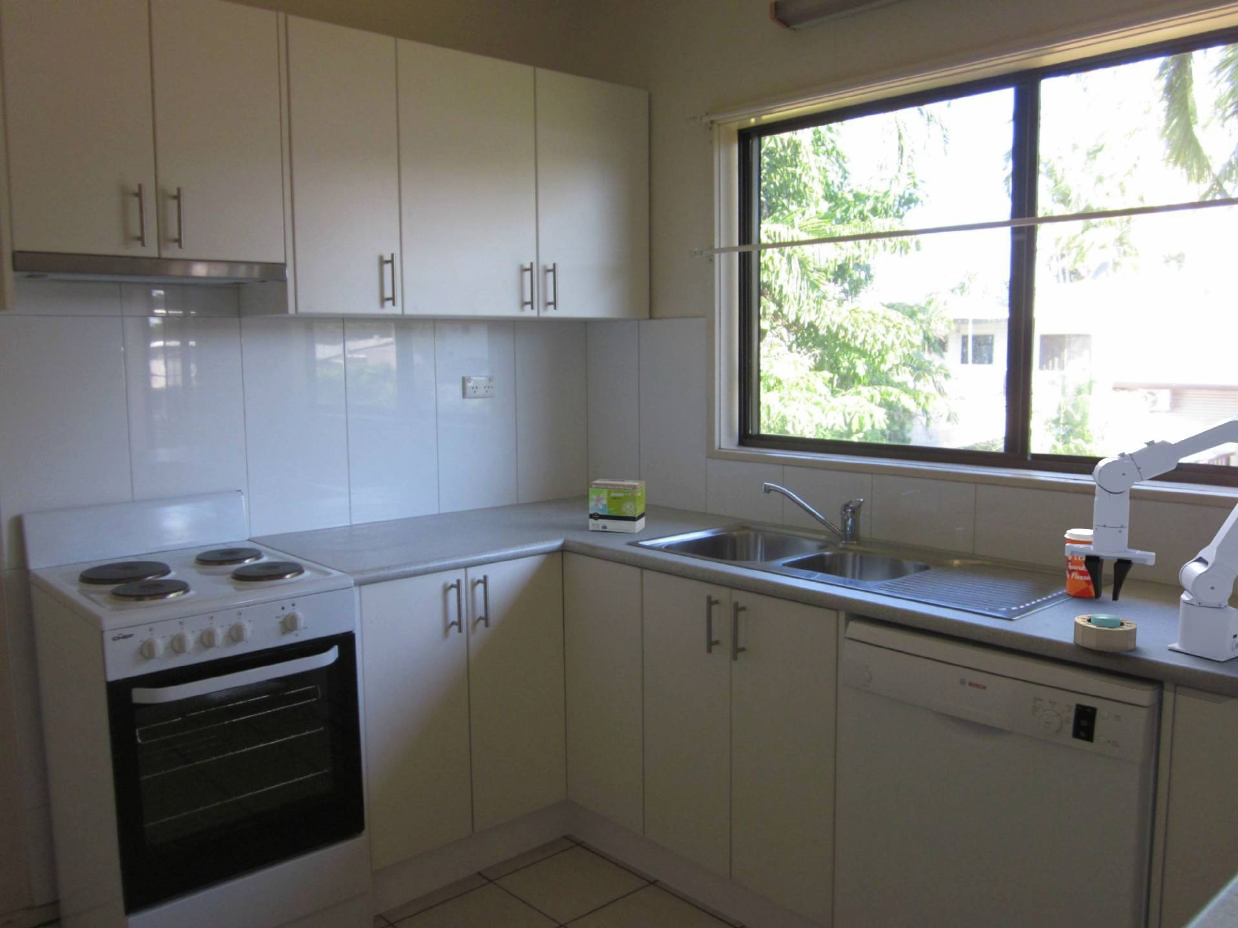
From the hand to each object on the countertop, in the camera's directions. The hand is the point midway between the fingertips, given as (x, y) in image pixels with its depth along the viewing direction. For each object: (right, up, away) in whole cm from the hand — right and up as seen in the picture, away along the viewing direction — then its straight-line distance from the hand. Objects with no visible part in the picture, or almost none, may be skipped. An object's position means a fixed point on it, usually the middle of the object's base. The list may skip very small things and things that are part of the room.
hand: (1106, 598), depth 178 cm
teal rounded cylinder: (0, -8, +1) cm, 8 cm away
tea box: (-89, +5, +116) cm, 147 cm away
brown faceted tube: (0, -8, +1) cm, 8 cm away
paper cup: (+12, -4, +36) cm, 39 cm away
